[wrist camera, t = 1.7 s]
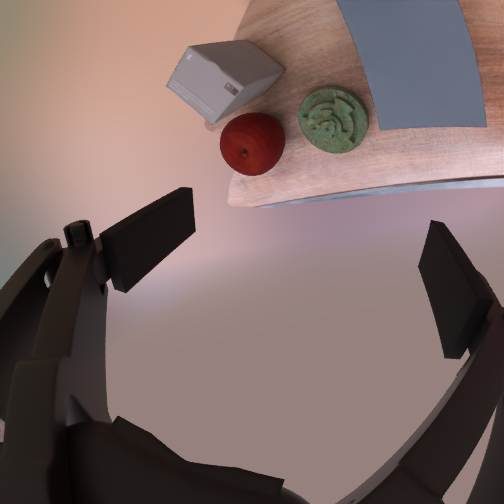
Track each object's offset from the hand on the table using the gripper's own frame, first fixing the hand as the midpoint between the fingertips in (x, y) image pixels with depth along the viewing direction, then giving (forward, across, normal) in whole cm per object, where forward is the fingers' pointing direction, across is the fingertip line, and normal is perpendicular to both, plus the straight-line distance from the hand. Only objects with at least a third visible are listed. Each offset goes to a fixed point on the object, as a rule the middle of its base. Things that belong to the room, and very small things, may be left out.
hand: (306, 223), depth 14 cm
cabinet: (+25, +11, +17) cm, 32 cm away
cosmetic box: (+29, -12, +13) cm, 34 cm away
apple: (+33, -11, +2) cm, 35 cm away
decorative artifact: (+30, 0, +6) cm, 31 cm away
